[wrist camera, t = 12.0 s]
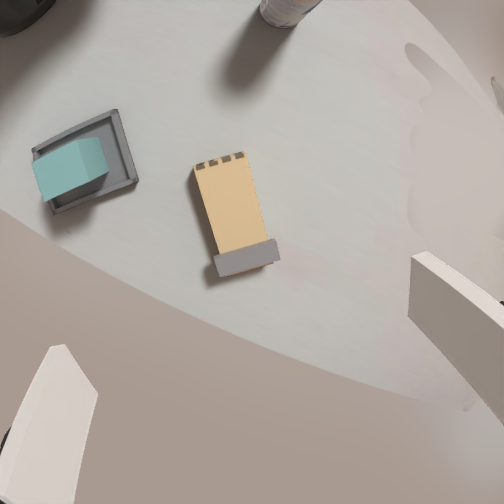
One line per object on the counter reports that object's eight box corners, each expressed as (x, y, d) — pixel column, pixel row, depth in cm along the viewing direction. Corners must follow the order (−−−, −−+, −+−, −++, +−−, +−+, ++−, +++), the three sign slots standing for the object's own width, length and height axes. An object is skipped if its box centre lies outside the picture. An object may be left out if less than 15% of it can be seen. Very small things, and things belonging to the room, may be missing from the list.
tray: (36, 147, 30) (31, 148, 29) (117, 109, 31) (114, 108, 30) (58, 212, 34) (53, 215, 33) (138, 179, 35) (136, 182, 33)
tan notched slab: (187, 167, 35) (185, 171, 32) (249, 149, 35) (254, 152, 32) (219, 269, 41) (221, 283, 38) (275, 253, 41) (281, 265, 38)
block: (58, 155, 31) (31, 163, 25) (98, 136, 31) (76, 139, 25) (69, 188, 33) (44, 202, 27) (109, 171, 33) (89, 181, 27)
